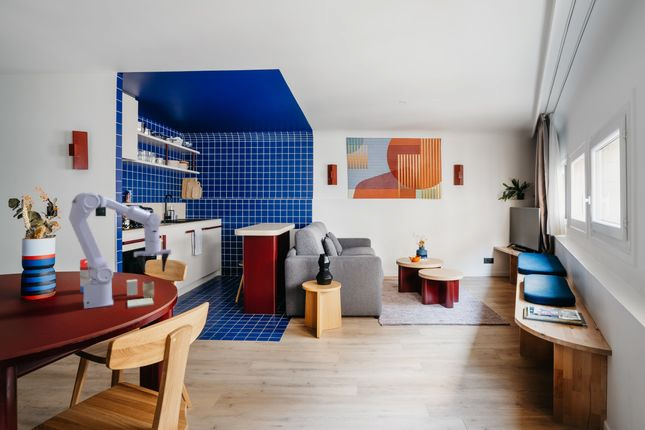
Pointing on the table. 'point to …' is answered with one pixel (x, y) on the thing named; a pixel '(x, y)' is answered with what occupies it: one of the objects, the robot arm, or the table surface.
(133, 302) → the sage pad
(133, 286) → the grey block
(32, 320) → the table surface
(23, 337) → the table surface
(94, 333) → the table surface
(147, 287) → the labelled block
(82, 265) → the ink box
